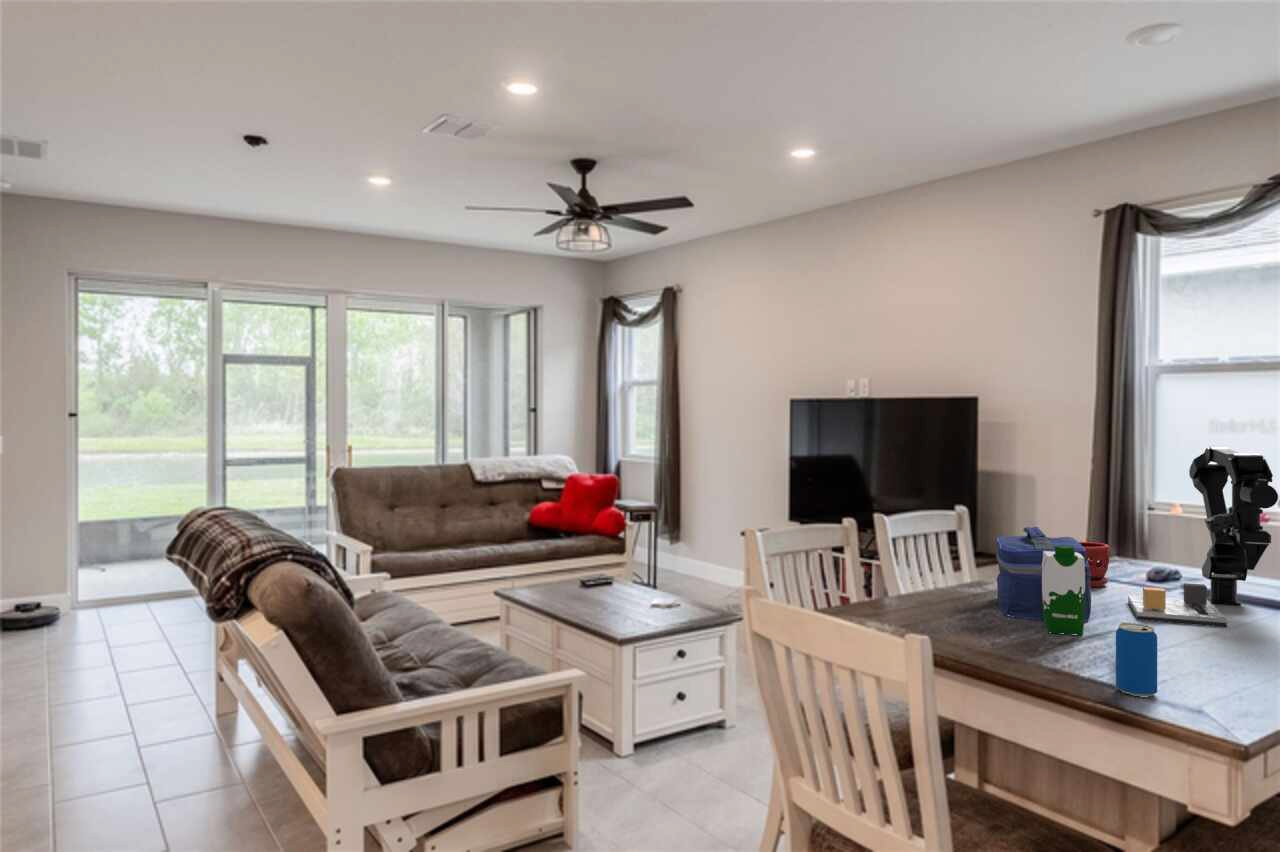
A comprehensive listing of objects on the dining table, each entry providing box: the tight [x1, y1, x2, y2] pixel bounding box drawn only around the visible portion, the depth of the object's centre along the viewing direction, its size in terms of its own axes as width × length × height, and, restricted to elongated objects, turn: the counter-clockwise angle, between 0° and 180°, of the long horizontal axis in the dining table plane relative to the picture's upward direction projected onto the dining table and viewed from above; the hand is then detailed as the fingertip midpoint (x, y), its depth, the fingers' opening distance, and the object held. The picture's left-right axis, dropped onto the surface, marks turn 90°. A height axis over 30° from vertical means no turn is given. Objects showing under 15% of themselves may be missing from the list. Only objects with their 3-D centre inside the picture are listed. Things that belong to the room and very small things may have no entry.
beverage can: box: [1115, 622, 1158, 697], centre depth 150 cm, size 6×6×12 cm
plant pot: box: [1078, 541, 1110, 588], centre depth 243 cm, size 13×13×12 cm
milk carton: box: [1042, 545, 1085, 636], centre depth 192 cm, size 9×9×20 cm
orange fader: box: [1142, 586, 1167, 611], centre depth 204 cm, size 3×4×6 cm
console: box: [1127, 594, 1228, 628], centre depth 207 cm, size 20×18×2 cm
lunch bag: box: [996, 526, 1092, 622], centre depth 215 cm, size 31×21×20 cm
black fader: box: [1183, 582, 1208, 609], centre depth 208 cm, size 3×4×6 cm
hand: (1246, 566), depth 205 cm, fingers open, 9 cm apart
